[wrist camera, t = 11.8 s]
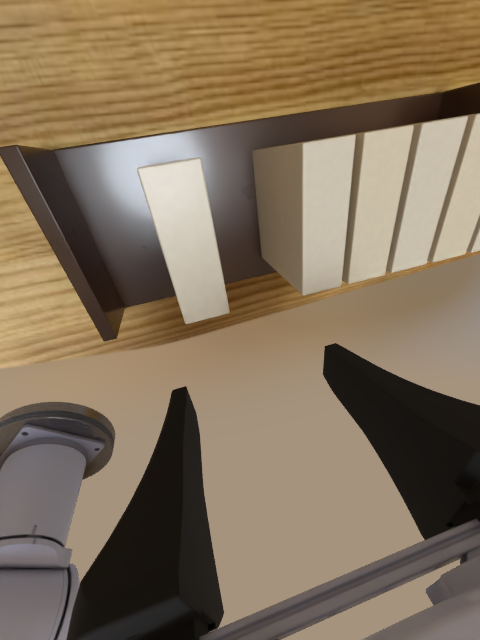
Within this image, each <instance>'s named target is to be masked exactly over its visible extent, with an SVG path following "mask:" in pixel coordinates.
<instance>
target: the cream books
mask: <svg viewBox="0 0 480 640" xmlns="http://www.w3.org/2000/svg"><path fill="white" fill-rule="evenodd" d="M252 155H253V166H254V177H255V188H256V199H257V210H258V221H259V232H260V243H261V254H262V258H263V259H264V260H265V261H266V262H267V263H268V264H269V265H270V266H272V267H273V268H274V269H275V270H276V271H277V272H278V273H279V274H280V275H281V276H282V277H283V278H284V279H285V280H286V281H287V282H289V283H290V284H291V285H292V286H293V287H294V288H295V289H296V290H297V291H298V292H299V293H300V294H301V295H302V296H304V295H308V294H312V293H316V292H320V291H324V290H327V289H331V288H335V287H339V286H341V284H342V280H343V281H344V282H346V283H347V284H351V283H355V282H358V281H362V280H366V279H370V278H374V277H378V276H382V275H385V271H388V272H390V273H393V272H397V271H401V270H405V269H409V268H413V267H417V266H421V265H424V264H426V262H427V261H429V262H436V261H440V260H444V259H448V258H452V257H456V256H460V255H464V254H465V253H466V251H467V252H471V253H472V252H476V251H479V250H480V113H477V114H471V115H465V116H459V117H452V118H446V119H440V120H434V121H428V122H422V123H416V124H410V125H404V126H397V127H391V128H385V129H379V130H373V131H367V132H361V133H355V134H349V135H343V136H337V137H331V138H325V139H319V140H313V141H307V142H301V143H295V144H289V145H282V146H276V147H270V148H264V149H258V150H253V151H252Z"/></svg>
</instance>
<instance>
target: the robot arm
mask: <svg viewBox="0 0 480 640" xmlns="http://www.w3.org/2000/svg"><path fill="white" fill-rule="evenodd" d="M323 375H324V377H325V379H326V380H327V383H328V384H329V386H330V388H331V389H332V391H333V392H334V394H335V395H336V397H337V398H338V399H339V401H340V402H341V403H342V404H343V406H344V407H345V408H346V410H347V411H348V412H349V414H350V415H351V416H352V417H353V419H354V420H355V422H356V423H357V424H358V425H359V427H360V428H361V429H362V431H363V432H364V434H365V435H366V436H367V438H368V440H369V441H370V443H371V444H372V446H373V448H374V449H375V451H376V453H377V454H378V456H379V458H380V459H381V461H382V462H383V464H384V466H385V468H386V469H387V471H388V473H389V474H390V476H391V478H392V480H393V482H394V483H395V485H396V487H397V489H398V491H399V492H400V494H401V496H402V498H403V500H404V502H405V503H406V505H407V507H408V509H409V511H410V513H411V515H412V517H413V519H414V520H415V523H416V525H417V527H418V529H419V531H420V533H421V535H422V536H423V538H424V539H425V540H424V541H422V542H420V543H417V544H415V545H413V546H411V547H408V548H406V549H404V550H401V551H399V552H396V553H394V554H392V555H389V556H387V557H385V558H383V559H380V560H378V561H375V562H373V563H371V564H368V565H366V566H364V567H361V568H359V569H357V570H354V571H352V572H350V573H347V574H345V575H343V576H340V577H338V578H336V579H333V580H331V581H329V582H327V583H324V584H322V585H319V586H317V587H315V588H312V589H310V590H308V591H305V592H303V593H301V594H298V595H296V596H294V597H291V598H289V599H287V600H284V601H282V602H280V603H277V604H275V605H273V606H270V607H268V608H266V609H263V610H261V611H259V612H256V613H254V614H252V615H249V616H247V617H245V618H242V619H240V620H238V621H235V622H233V623H230V624H228V625H226V626H224V627H221V628H219V629H217V628H218V627H219V625H220V622H221V620H222V617H223V614H224V611H223V605H222V600H221V594H220V588H219V583H218V577H217V571H216V565H215V559H214V554H213V549H212V542H211V536H210V529H209V523H208V517H207V510H206V503H205V497H204V489H203V478H202V462H201V447H200V446H201V445H200V433H199V427H198V421H197V415H196V412H195V409H194V406H193V403H192V401H191V398H190V395H189V393H188V390H187V388H186V386H185V387H182V388H178V389H175V390H173V391H172V394H171V399H170V403H169V407H168V411H167V414H166V418H165V421H164V424H163V427H162V430H161V433H160V436H159V439H158V441H157V444H156V447H155V449H154V452H153V455H152V457H151V459H150V462H149V464H148V466H147V469H146V471H145V473H144V475H143V477H142V480H141V481H140V483H139V485H138V487H137V489H136V491H135V494H134V496H133V497H132V499H131V501H130V503H129V505H128V507H127V508H126V510H125V512H124V514H123V515H122V517H121V519H120V521H119V522H118V524H117V526H116V528H115V529H114V531H113V533H112V534H111V536H110V538H109V539H108V541H107V542H106V544H105V546H104V547H103V549H102V550H101V552H100V553H99V555H98V556H97V558H96V559H95V561H94V562H93V564H92V565H91V567H90V569H89V570H88V572H87V573H86V575H85V576H84V578H83V579H82V581H81V583H80V581H79V577H78V571H77V568H76V566H75V565H73V564H69V562H70V558H71V554H72V549H67V548H65V545H66V541H67V537H68V533H69V529H70V525H71V521H72V518H73V513H74V509H75V506H76V502H77V498H78V494H79V490H80V486H81V482H82V478H83V474H84V471H85V468H86V467H87V466H88V465H89V463H90V462H91V461H92V460H93V459H94V458H95V457H96V456H97V454H98V453H99V452H100V451H101V450H102V449H103V448H104V446H105V443H104V442H103V441H99V440H95V439H91V438H86V437H82V436H78V435H74V434H69V433H65V432H61V431H57V430H52V429H48V428H44V427H40V426H35V425H31V424H27V425H24V426H23V427H22V428H21V430H20V431H19V432H18V434H17V435H16V437H15V438H14V439H13V441H12V442H11V443H10V445H9V446H8V447H7V449H6V450H5V451H4V453H3V454H2V455H1V457H0V640H281V639H283V638H285V637H287V636H289V635H292V634H294V633H296V632H298V631H301V630H303V629H305V628H307V627H310V626H312V625H314V624H316V623H318V622H321V621H323V620H325V619H327V618H330V617H332V616H334V615H336V614H338V613H341V612H343V611H345V610H347V609H349V608H352V607H354V606H356V605H358V604H361V603H363V602H365V601H367V600H370V599H372V598H374V597H376V596H379V595H380V594H383V593H385V592H387V591H389V590H392V589H394V588H396V587H398V586H401V585H403V584H405V583H407V582H410V581H412V580H414V579H416V578H419V577H421V576H423V575H425V574H427V573H430V572H432V571H434V570H436V569H438V568H441V567H443V566H445V565H447V564H449V563H452V562H454V561H456V560H459V559H461V560H460V564H461V565H459V566H457V567H456V568H454V569H452V570H450V571H449V572H446V573H444V574H443V575H441V577H440V579H439V580H438V581H436V582H435V583H434V584H432V585H431V586H429V587H428V588H427V589H426V593H427V595H428V597H429V598H430V600H431V602H432V603H433V605H434V606H432V607H430V608H427V609H425V610H423V611H421V612H419V613H417V614H414V615H412V616H410V617H408V618H406V619H404V620H402V621H400V622H398V623H396V624H393V625H391V626H389V627H387V628H385V629H383V630H381V631H379V632H377V633H375V634H372V635H370V636H369V637H366V638H365V639H362V640H480V405H476V404H472V403H469V402H466V401H462V400H459V399H456V398H453V397H449V396H447V395H444V394H441V393H438V392H435V391H432V390H430V389H427V388H424V387H422V386H419V385H417V384H415V383H412V382H410V381H407V380H405V379H403V378H401V377H398V376H396V375H394V374H392V373H390V372H388V371H386V370H384V369H382V368H380V367H378V366H376V365H374V364H372V363H371V362H369V361H367V360H365V359H363V358H361V357H360V356H358V355H356V354H354V353H353V352H350V351H349V350H347V349H345V348H344V347H342V346H340V345H338V344H336V343H335V344H332V345H328V346H325V352H324V368H323ZM215 629H216V630H215ZM212 630H214V631H212ZM210 631H212V632H210Z"/></svg>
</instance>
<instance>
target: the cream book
mask: <svg viewBox="0 0 480 640" xmlns="http://www.w3.org/2000/svg"><path fill="white" fill-rule="evenodd" d="M137 172H138V175H139V178H140V181H141V185H142V188H143V191H144V194H145V197H146V201H147V204H148V207H149V210H150V213H151V216H152V220H153V223H154V226H155V229H156V232H157V236H158V239H159V242H160V245H161V248H162V252H163V255H164V258H165V261H166V264H167V268H168V271H169V274H170V277H171V280H172V284H173V287H174V290H175V293H176V296H177V299H178V303H179V306H180V309H181V312H182V315H183V319H184V322H185V324H190V323H194V322H197V321H201V320H205V319H209V318H213V317H217V316H221V315H225V314H229V313H230V310H229V305H228V299H227V294H226V289H225V283H224V278H223V273H222V267H221V262H220V257H219V251H218V246H217V240H216V235H215V230H214V224H213V219H212V214H211V208H210V203H209V198H208V192H207V187H206V182H205V176H204V171H203V166H202V160H201V158H193V159H186V160H180V161H174V162H168V163H162V164H156V165H150V166H144V167H138V168H137Z"/></svg>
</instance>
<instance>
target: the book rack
mask: <svg viewBox="0 0 480 640" xmlns="http://www.w3.org/2000/svg"><path fill="white" fill-rule="evenodd" d="M477 113H480V83H476V84H472V85H468V86H464V87H461V88H457V89H453V90H449V91H445V92H439V93H433V94H426V95H419V96H412V97H406V98H399V99H392V100H385V101H378V102H372V103H365V104H358V105H351V106H345V107H338V108H331V109H324V110H317V111H311V112H304V113H297V114H290V115H283V116H277V117H270V118H263V119H256V120H250V121H243V122H236V123H229V124H222V125H216V126H209V127H202V128H195V129H189V130H182V131H175V132H168V133H161V134H155V135H148V136H141V137H134V138H128V139H121V140H114V141H107V142H100V143H94V144H87V145H80V146H73V147H66V148H60V149H53V150H51V149H44V148H36V147H28V146H21V145H12V146H5V147H0V156H1V158H2V160H3V161H4V163H5V165H6V167H7V168H8V170H9V172H10V174H11V176H12V177H13V179H14V181H15V183H16V185H17V186H18V188H19V190H20V192H21V194H22V195H23V197H24V199H25V201H26V203H27V204H28V206H29V208H30V210H31V212H32V213H33V215H34V217H35V219H36V220H37V222H38V224H39V226H40V228H41V229H42V231H43V233H44V235H45V237H46V238H47V240H48V242H49V244H50V246H51V247H52V249H53V251H54V253H55V255H56V256H57V258H58V260H59V262H60V264H61V265H62V267H63V269H64V271H65V272H66V274H67V276H68V278H69V280H70V281H71V283H72V285H73V287H74V289H75V290H76V292H77V294H78V296H79V298H80V299H81V301H82V303H83V305H84V307H85V308H86V310H87V312H88V314H89V316H90V317H91V319H92V321H93V323H94V324H95V326H96V328H97V330H98V332H99V333H100V335H101V337H102V339H103V341H109V340H112V339H116V338H117V336H118V332H119V328H120V324H121V321H122V317H123V313H124V309H125V308H127V307H131V306H135V305H139V304H143V303H147V302H152V301H156V300H160V299H164V298H168V297H173V296H176V293H175V290H174V287H173V284H172V280H171V277H170V274H169V271H168V268H167V264H166V261H165V258H164V255H163V252H162V248H161V245H160V242H159V239H158V236H157V232H156V229H155V226H154V223H153V220H152V216H151V213H150V210H149V207H148V204H147V201H146V197H145V194H144V191H143V188H142V185H141V181H140V178H139V175H138V172H137V168H138V167H144V166H150V165H156V164H162V163H168V162H174V161H180V160H186V159H193V158H201V160H202V166H203V171H204V176H205V182H206V187H207V192H208V198H209V203H210V208H211V214H212V219H213V224H214V230H215V235H216V240H217V246H218V251H219V257H220V262H221V267H222V273H223V278H224V283H225V284H227V283H231V282H235V281H240V280H244V279H248V278H252V277H256V276H261V275H265V274H269V273H273V272H277V271H276V270H275V269H274V268H273V267H272V266H270V265H269V264H268V263H267V262H266V261H265V260H264V259H263V258H262V254H261V243H260V232H259V221H258V210H257V199H256V188H255V177H254V166H253V155H252V151H253V150H258V149H264V148H270V147H276V146H282V145H289V144H295V143H301V142H307V141H313V140H319V139H325V138H331V137H337V136H343V135H349V134H355V133H361V132H367V131H373V130H379V129H385V128H391V127H397V126H404V125H410V124H416V123H422V122H428V121H434V120H440V119H446V118H452V117H459V116H465V115H471V114H477Z"/></svg>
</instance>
